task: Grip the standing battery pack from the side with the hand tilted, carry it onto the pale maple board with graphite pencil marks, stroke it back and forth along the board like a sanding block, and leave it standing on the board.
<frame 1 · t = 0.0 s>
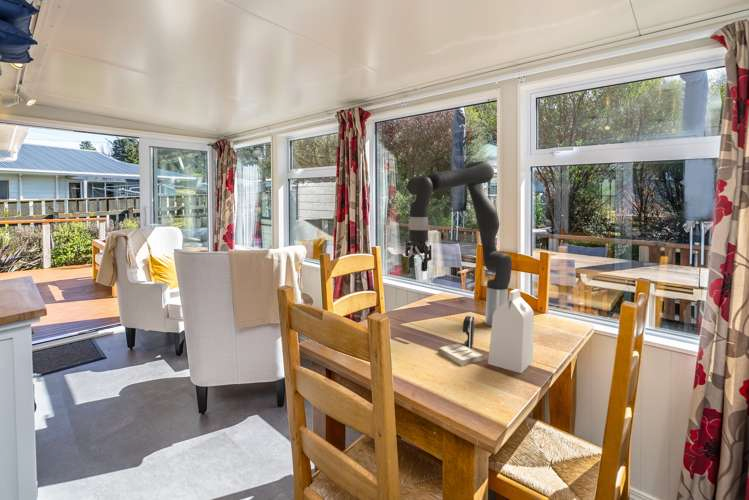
hand: (417, 269, 154), 29 cm above the table, tool pointing down, fingers open, 8 cm apart
battery: (467, 345, 153), on the table
board: (460, 356, 142), on the table
milk: (510, 363, 137), on the table
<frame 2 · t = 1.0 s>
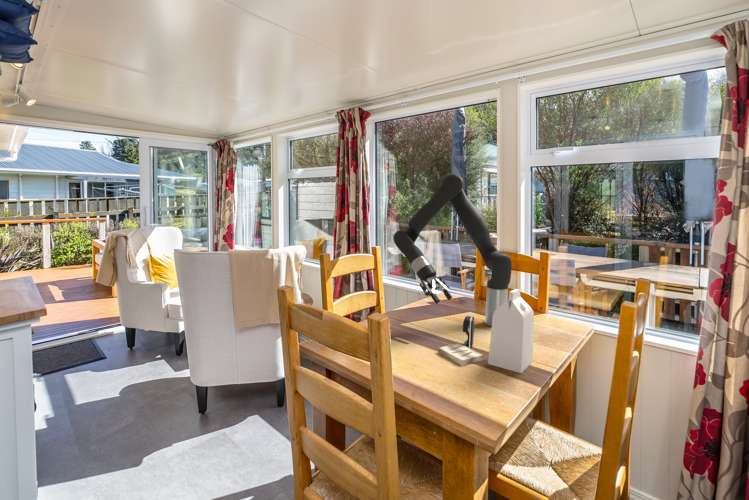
hand: (444, 300, 159), 16 cm above the table, tool tilted 45°, fingers open, 8 cm apart
nothing on the table moved.
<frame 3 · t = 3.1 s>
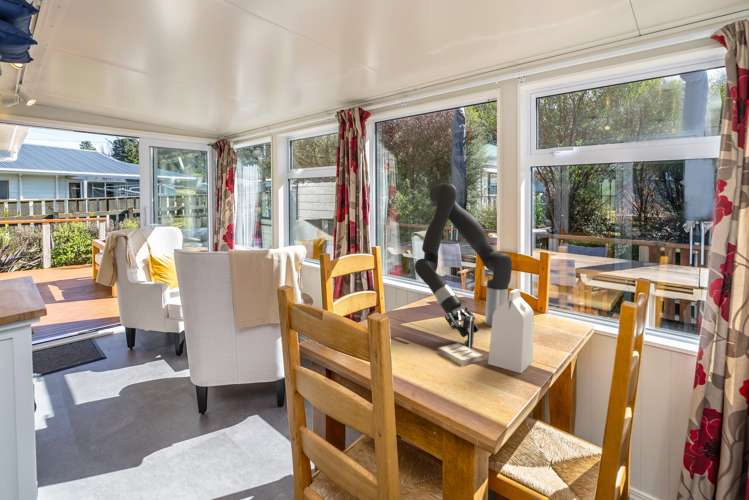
hand: (471, 333, 151), 5 cm above the table, tool tilted 45°, fingers open, 7 cm apart
battery: (467, 345, 153), on the table, touching gripper
everything else where it was.
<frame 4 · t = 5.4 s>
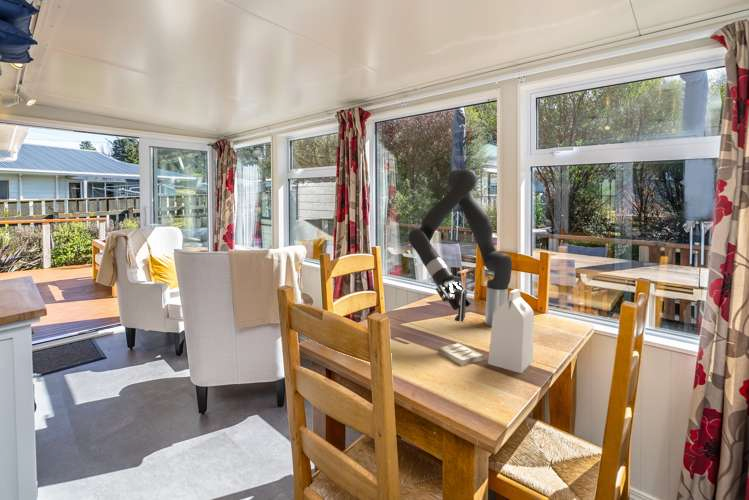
hand: (463, 307, 146), 17 cm above the table, tool tilted 45°, fingers closed on battery, 7 cm apart
battery: (458, 319, 147), point 12 cm above the table, touching gripper
everything else where it was.
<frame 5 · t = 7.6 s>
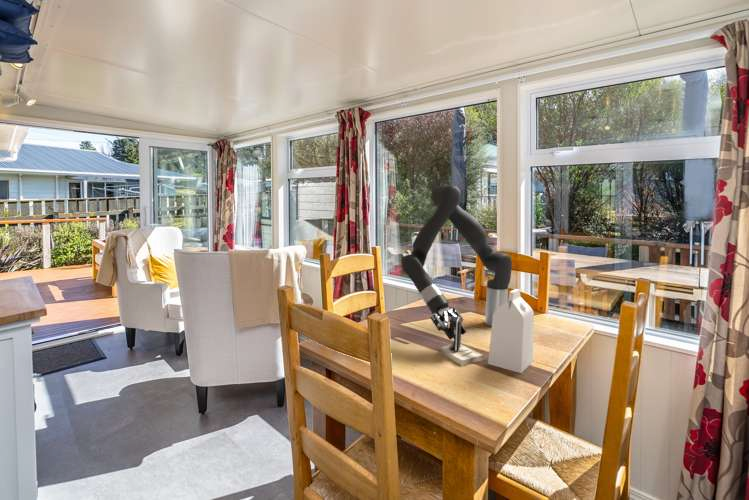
hand: (458, 335, 142), 7 cm above the table, tool tilted 45°, fingers closed on battery, 7 cm apart
battery: (454, 348, 144), point 2 cm above the table, touching gripper
everything else where it was.
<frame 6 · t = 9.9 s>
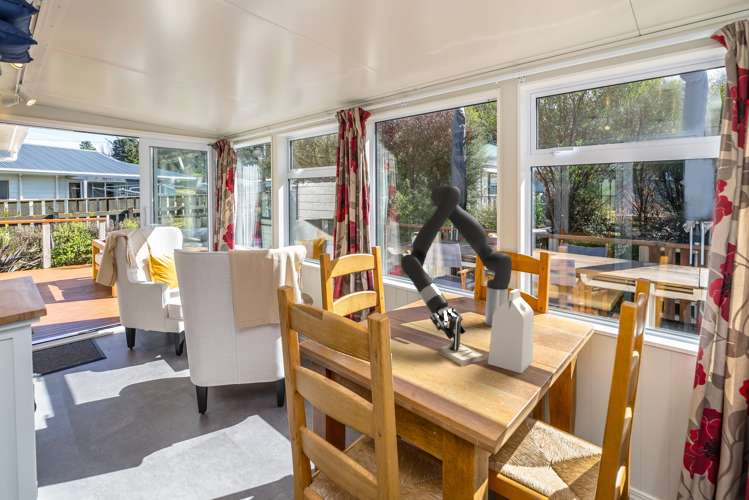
hand: (458, 335, 143), 7 cm above the table, tool tilted 45°, fingers closed on battery, 7 cm apart
battery: (453, 348, 145), point 2 cm above the table, touching gripper
everything else where it was.
when the fingers open (7 cm above the table, at t = 11.6 s): battery stays where it is, resting on board.
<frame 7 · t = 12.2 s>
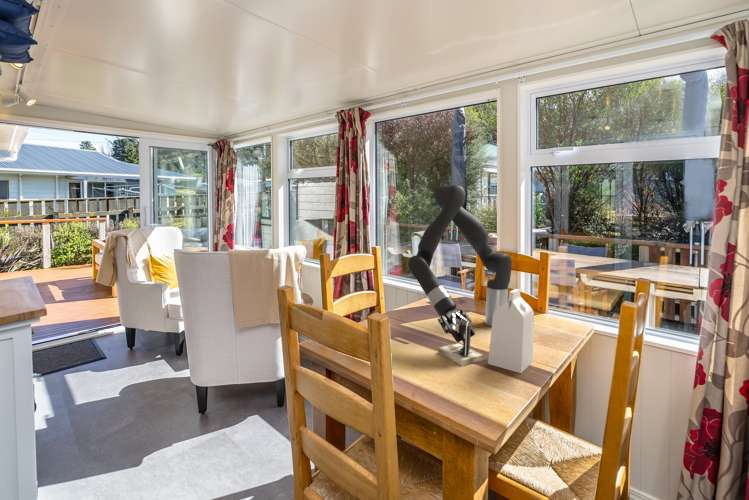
hand: (466, 338, 139), 8 cm above the table, tool tilted 45°, fingers open, 8 cm apart
battery: (463, 353, 140), point 2 cm above the table, touching board
everything else where it was.
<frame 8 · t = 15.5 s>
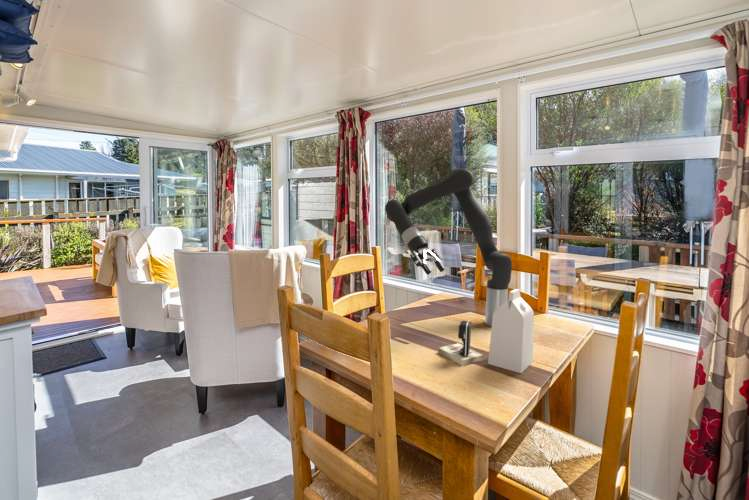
hand: (436, 272, 152), 29 cm above the table, tool tilted 45°, fingers open, 8 cm apart
nothing on the table moved.
at the end: battery inside the target area (1.8 cm from its centre), point 1.9 cm above the table; battery tilted 0°; the gripper is holding nothing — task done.
